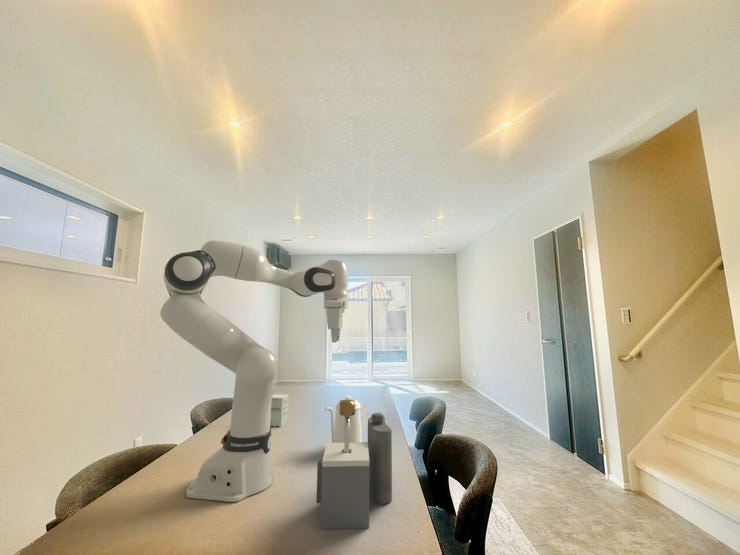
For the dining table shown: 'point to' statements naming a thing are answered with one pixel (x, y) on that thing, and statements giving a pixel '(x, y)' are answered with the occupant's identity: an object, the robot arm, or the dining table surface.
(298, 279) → the robot arm
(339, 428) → the coffeepot
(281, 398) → the supplement box
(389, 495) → the flask
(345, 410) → the plunger
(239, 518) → the dining table surface
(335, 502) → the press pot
